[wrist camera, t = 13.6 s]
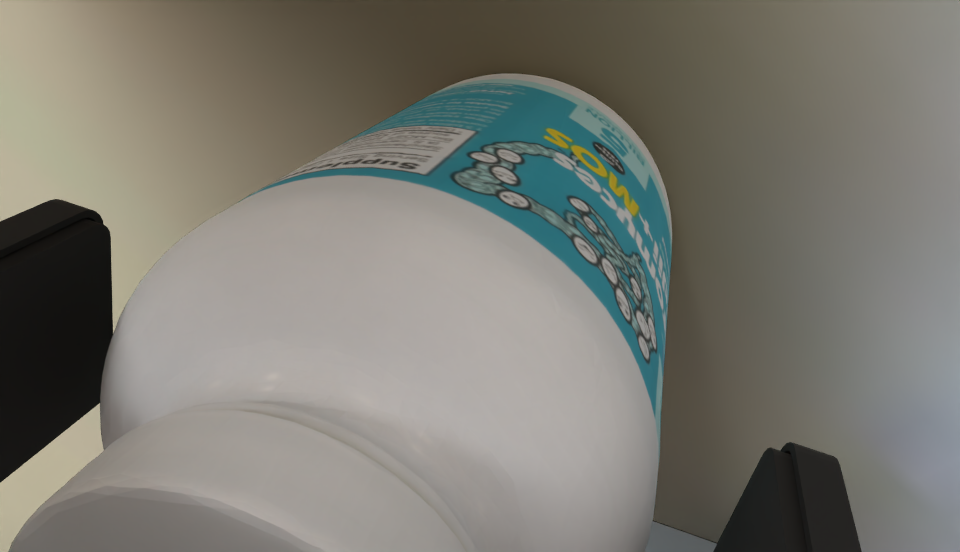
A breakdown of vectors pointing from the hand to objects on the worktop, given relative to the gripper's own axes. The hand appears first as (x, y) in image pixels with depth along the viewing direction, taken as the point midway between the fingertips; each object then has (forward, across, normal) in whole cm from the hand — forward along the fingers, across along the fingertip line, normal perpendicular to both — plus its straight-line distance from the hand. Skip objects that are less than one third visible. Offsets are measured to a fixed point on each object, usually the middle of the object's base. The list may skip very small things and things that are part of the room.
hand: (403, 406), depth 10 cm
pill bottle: (+9, 0, +1) cm, 9 cm away
